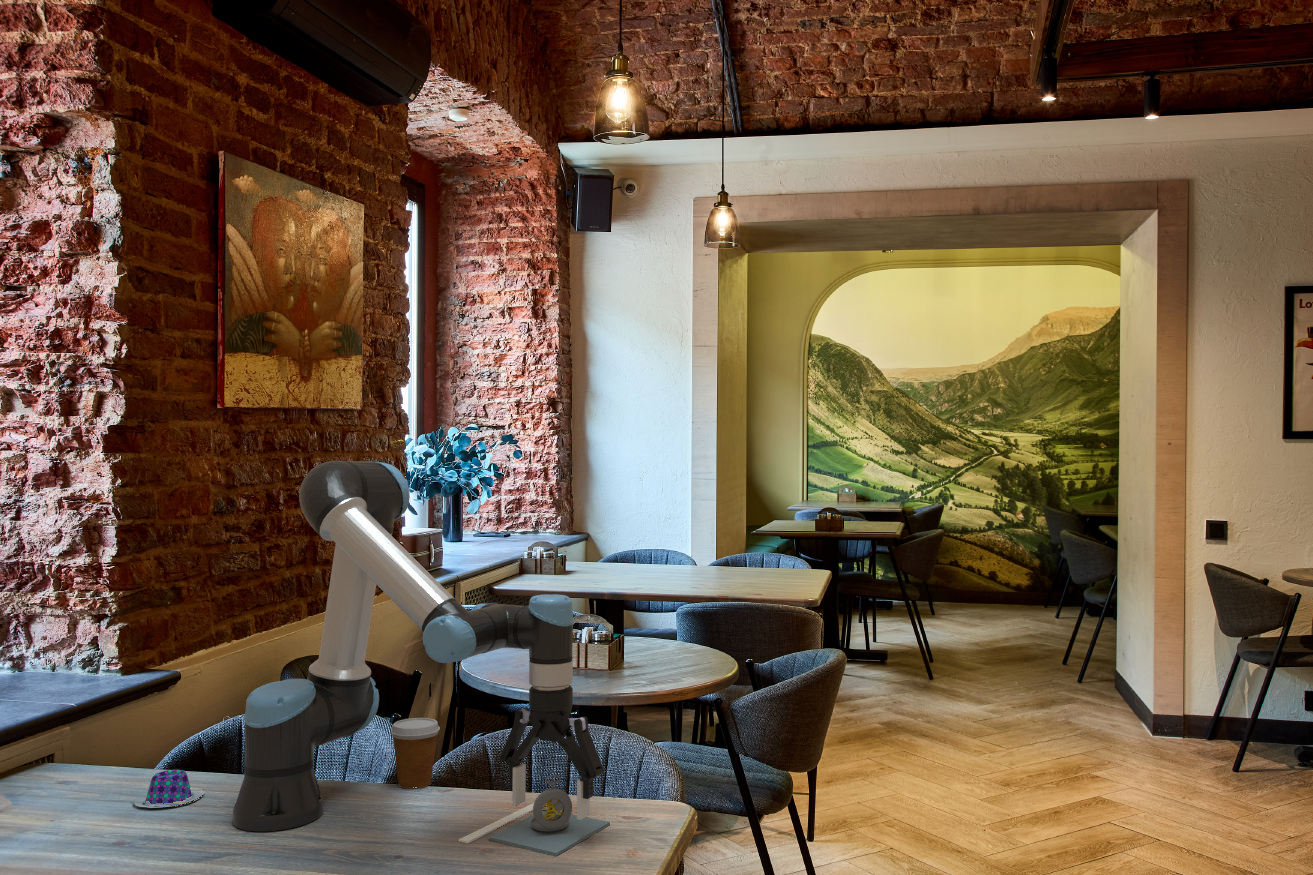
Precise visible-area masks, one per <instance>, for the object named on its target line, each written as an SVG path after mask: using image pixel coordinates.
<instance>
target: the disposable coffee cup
mask: <svg viewBox="0 0 1313 875" xmlns="http://www.w3.org/2000/svg"><path fill="white" fill-rule="evenodd" d="M438 723H439V722H438V721H437V720H436V719H435V718H434V719H433V718H430V717H429V718H428V717H411V718H404V719H401V720H397V721H395V722H394V723H393V724H392V725H393V726H392V729H391V730H390V733H391V736H392V738H393V748H394V758H395V764H396V765H395V766H396V774H397V782H398V783H397V784H398V787H399V788H402V789H407V790H414V789H421V788H425V787H428V786H430V785H431V784H432V779H433V778H432V776H433V768H434V762H435V755H436V747H437V739H438V735H439V731H440V728H441V727H440V726H439V724H438ZM413 787H414V788H413ZM415 787H417V788H415Z"/></svg>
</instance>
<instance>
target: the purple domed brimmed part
mask: <svg viewBox="0 0 1313 875" xmlns="http://www.w3.org/2000/svg"><path fill="white" fill-rule="evenodd" d="M149 783H150V784H149V787H148V790H147V797H146V800H145V801H149V802H150V803H151V804H156V803H163V804H164V803H173V802H176V801H183V800H186V798H189V797H191V796H192V797H193V795H192V793H191V789H190V788H192V787H191V784H190V781H189V778H188V774H187V772H186V771H185V770H184V769H171V770H170V769H168V770H163V771H160V772H156V773H155V774H154V775H153V776H152V777H151V780H150V782H149ZM194 788H195V789H199V788H197V787H194ZM201 791H202V789H201ZM203 794H205V792H204V793H203ZM202 797H203V796H201V798H202ZM199 799H200V798H198V799H196V800H194V801H193V802H195V801H197V800H199ZM190 803H191V802H189V803H188V804H190ZM178 805H179V804H178ZM178 805H177V806H176V807H179V806H178ZM184 805H187V804H186V802H185V804H184ZM180 806H183V805H182V804H181V805H180Z"/></svg>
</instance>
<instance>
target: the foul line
mask: <svg viewBox="0 0 1313 875" xmlns="http://www.w3.org/2000/svg"><path fill="white" fill-rule="evenodd" d="M533 805H534V802H532V803H531V804H529V805H527V806H525V807H523V808H520V809H518V810H517V811H515V812H513V813H510V814H507V816H504V817H501V818H500V819H498V820H496V821H494V822H492V823H490V824H488V825H487V824H486V825H485V826H484V827H482V828H480V829H477V830H475V831H474V832H471V833H469V834H467V835H465V836H463V837H461V838H459V839H458V840H457V841H458V842H459V843H463V844H468V845H469V844H470V843H471V842H474V841H476V840H478V839H480V838H482V837H484V836H486V835H488V834H490V833H493V831H496V830H498V829H499V827H500V828H502V827H504V826H506V825H508V824H509V823H508V822H510V823H512V822H514V821H515V820H514V819H516V818H518V817H520V816H522V815H524V814H526V813H528V814H530V813H532V812H533ZM544 805H545V804H544ZM545 806H546V805H545ZM531 811H532V812H531ZM529 812H530V813H529ZM526 815H527V814H526ZM524 816H525V815H524ZM522 817H523V816H522ZM520 818H521V817H520ZM518 819H519V818H518ZM513 820H514V821H513ZM516 820H517V819H516ZM511 821H512V822H511ZM507 823H508V824H507ZM505 824H506V825H505ZM503 825H504V826H503ZM501 826H502V827H501ZM497 828H498V829H497Z"/></svg>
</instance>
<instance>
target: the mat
mask: <svg viewBox="0 0 1313 875" xmlns="http://www.w3.org/2000/svg"><path fill="white" fill-rule="evenodd" d="M544 809H545V810H547V809H548V808H547V809H546V808H544ZM544 809H543V810H544ZM542 813H543V815H545V814H547V812H546V813H545V812H542ZM555 813H556V812H555ZM555 813H554V814H555ZM557 814H558V813H556V814H555V815H557ZM560 814H561V813H560ZM560 814H559V815H560ZM533 818H534V814H533V813H532V814H531V815H530V816H528V817H526V818H524V819H521V820H520V821H518V822H515V823H514V824H511V825H510V826H508V827H506V828H503V829H501V830H500V831H498V832H496V833H494V834H492V835H490V836H488V837H487V838H488V841H492V842H496V843H499V844H503V843H504V845H506V846H507V845H508V846H512V847H516V848H520V849H524V850H529V851H531V852H537V853H542V854H546V855H548V856H549V855H550V856H555V857H557V856H559V855H561V854H563V853H564V851H565V852H566V851H568V850H570V849H571V848H573V847H575V846H576V845H578V844H580V843H582V842H583V841H585V840H586V839H588V838H590V837H592V836H594V835H595V834H597V833H599V832H600V831H602V830H604V829H605V828H607V827H608V826H610V825H611V823H610V821H608V820H607V821H606V820H602V819H596V818H593V817H588V816H587V817H585V818H583V819H581V820H579V819H577V814H573V813H571V816H570V818H569V825H568V826H567V827H566V828H564V829H561V830H558V831H552V832H545V831H538V830H535V829H533V828H532V827H531V825H530V822H531V820H532V819H533ZM598 831H599V832H598ZM593 834H594V835H593ZM581 841H582V842H581ZM569 848H570V849H569Z"/></svg>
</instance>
